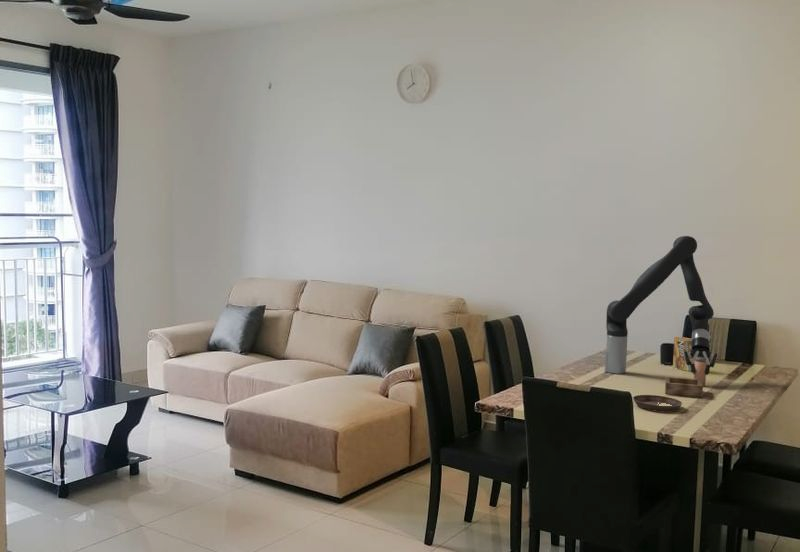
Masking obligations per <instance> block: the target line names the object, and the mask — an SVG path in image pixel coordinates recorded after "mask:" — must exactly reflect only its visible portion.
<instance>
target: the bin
mask: <svg viewBox="0 0 800 552" xmlns="http://www.w3.org/2000/svg"><path fill="white" fill-rule="evenodd" d="M664 387H665V389H664V390H665V391H664V392H665V393H664V395H665V394H669V395H668V396H675V395H678V396H677V397H685V396H689V398H696V399H703V392H704V391H703V387H704V386H703V385H702V381H701V380H699V379H694V378H688V377H675V376H665V386H664Z"/></svg>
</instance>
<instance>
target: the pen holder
mask: <svg viewBox="0 0 800 552" xmlns="http://www.w3.org/2000/svg"><path fill="white" fill-rule="evenodd" d="M659 347H660V349H659V350H660V354H659V355H660V357H659V358H660V361H659V362H660V365H662V364H664V365H663V366H667V365H673V356H674V342H673V343H672V342H670V343H669V342H663V343H661V344H660V346H659Z"/></svg>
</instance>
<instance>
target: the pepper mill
mask: <svg viewBox="0 0 800 552" xmlns="http://www.w3.org/2000/svg"><path fill="white" fill-rule="evenodd" d="M706 365H707V362H706V358H704V357H696V360H695V372H694V374H693V379H699V380H701V381H702V385H703V387H706V380H707V377H706V376H707V375H706Z"/></svg>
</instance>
